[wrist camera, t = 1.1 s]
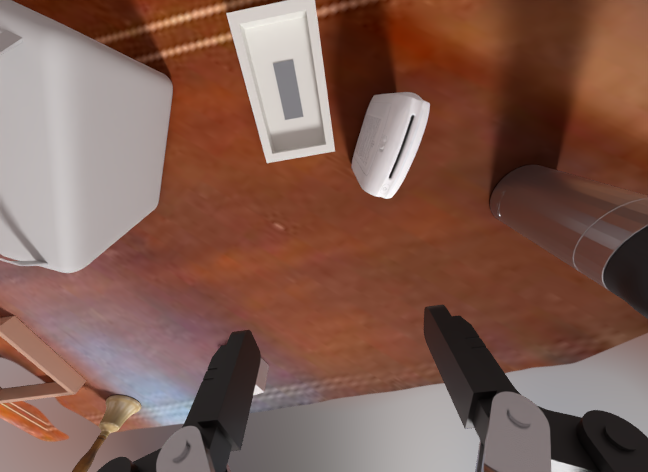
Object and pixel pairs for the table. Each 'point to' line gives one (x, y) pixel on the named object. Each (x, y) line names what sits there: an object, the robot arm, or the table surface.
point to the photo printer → (389, 141)
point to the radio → (74, 142)
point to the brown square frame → (43, 359)
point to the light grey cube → (261, 378)
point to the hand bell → (109, 425)
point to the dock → (284, 77)
